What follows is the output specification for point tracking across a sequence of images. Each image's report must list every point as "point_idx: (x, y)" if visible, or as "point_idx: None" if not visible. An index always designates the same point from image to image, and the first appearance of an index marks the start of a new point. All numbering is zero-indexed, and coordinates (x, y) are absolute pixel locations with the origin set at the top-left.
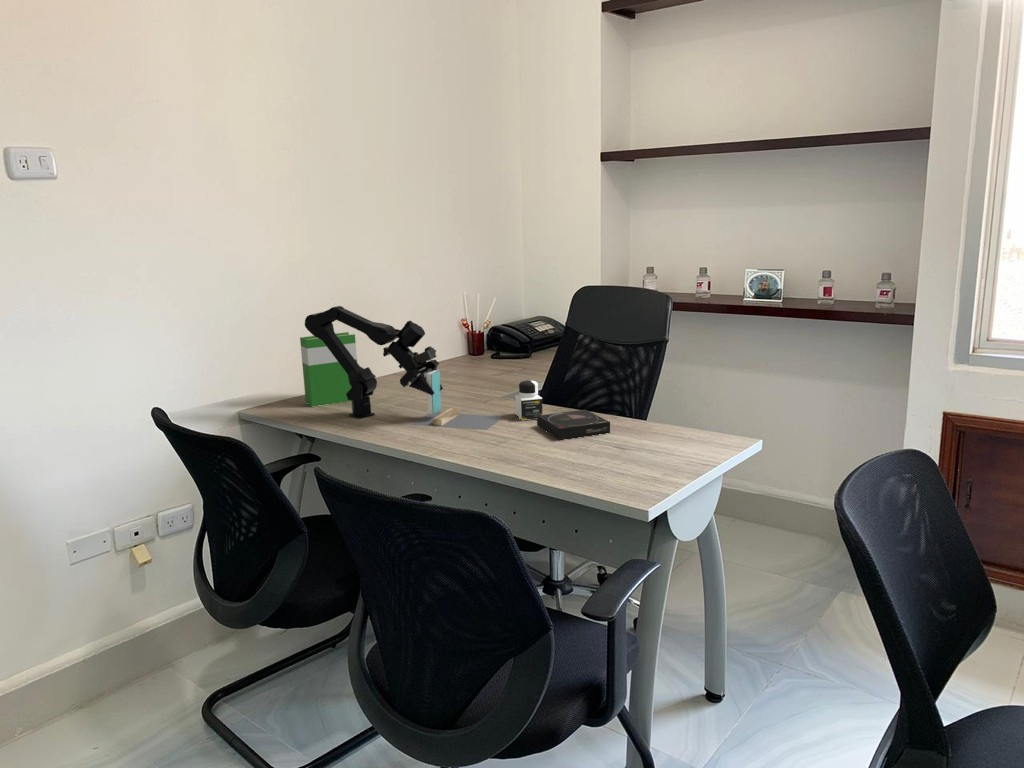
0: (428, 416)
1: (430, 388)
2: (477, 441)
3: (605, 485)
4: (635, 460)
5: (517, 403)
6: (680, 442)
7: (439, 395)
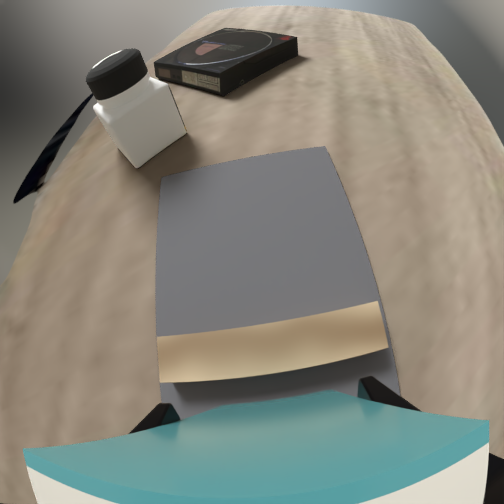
0: None
1: (403, 405)
2: (407, 137)
3: (400, 30)
4: (321, 20)
5: (139, 123)
6: (239, 18)
7: (216, 414)
